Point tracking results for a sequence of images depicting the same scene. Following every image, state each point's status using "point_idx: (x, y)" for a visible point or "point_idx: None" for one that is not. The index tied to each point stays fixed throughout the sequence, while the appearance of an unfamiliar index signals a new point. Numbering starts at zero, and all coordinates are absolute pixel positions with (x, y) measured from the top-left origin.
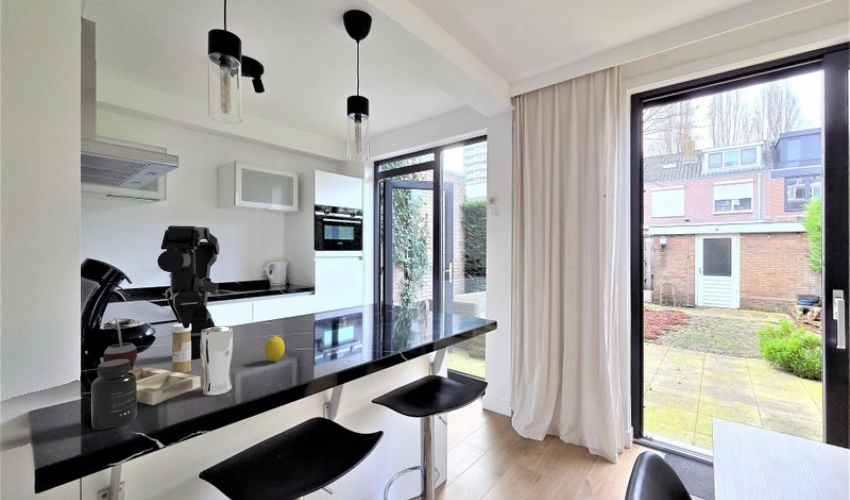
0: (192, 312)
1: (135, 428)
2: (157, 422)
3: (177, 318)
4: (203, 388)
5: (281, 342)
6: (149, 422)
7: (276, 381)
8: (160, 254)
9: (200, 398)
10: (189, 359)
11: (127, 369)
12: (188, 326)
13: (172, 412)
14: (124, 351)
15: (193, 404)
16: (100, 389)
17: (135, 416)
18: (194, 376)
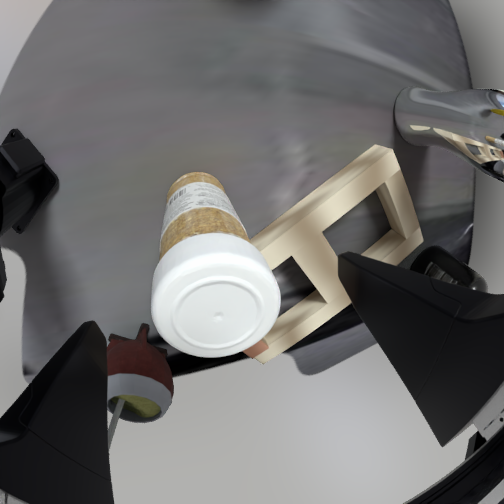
0: (462, 291)
1: (456, 237)
2: (460, 214)
3: (106, 373)
4: (421, 145)
5: None
6: (454, 223)
7: (422, 8)
8: None
9: (431, 152)
10: (215, 186)
11: None
12: (354, 257)
13: (449, 197)
14: (164, 388)
15: (444, 166)
16: None
17: (438, 246)
18: (382, 163)
